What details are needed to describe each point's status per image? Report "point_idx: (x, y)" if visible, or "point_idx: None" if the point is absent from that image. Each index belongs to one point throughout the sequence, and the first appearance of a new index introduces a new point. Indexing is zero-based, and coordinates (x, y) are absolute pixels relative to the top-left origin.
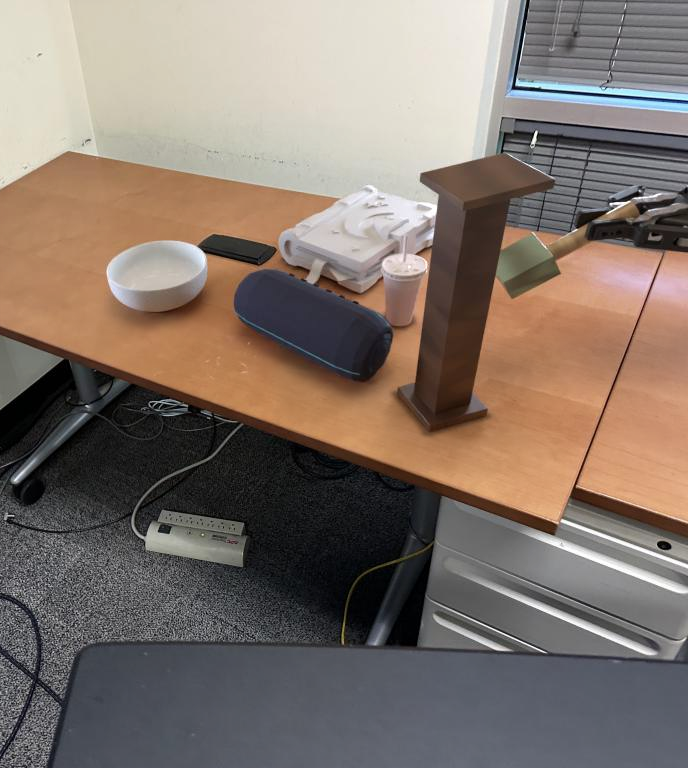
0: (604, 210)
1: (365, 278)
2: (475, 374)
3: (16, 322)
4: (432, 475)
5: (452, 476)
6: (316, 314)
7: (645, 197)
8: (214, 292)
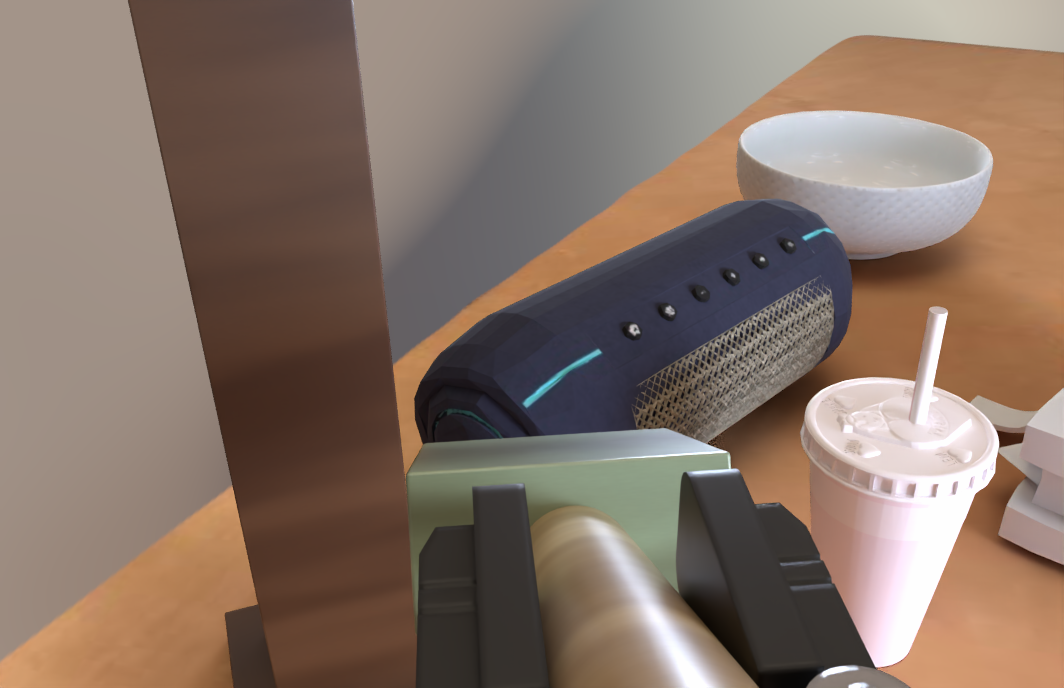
0: (738, 606)
1: (1058, 518)
2: (262, 621)
3: (728, 133)
4: (59, 619)
5: (30, 661)
6: (572, 276)
7: None
8: (906, 294)
